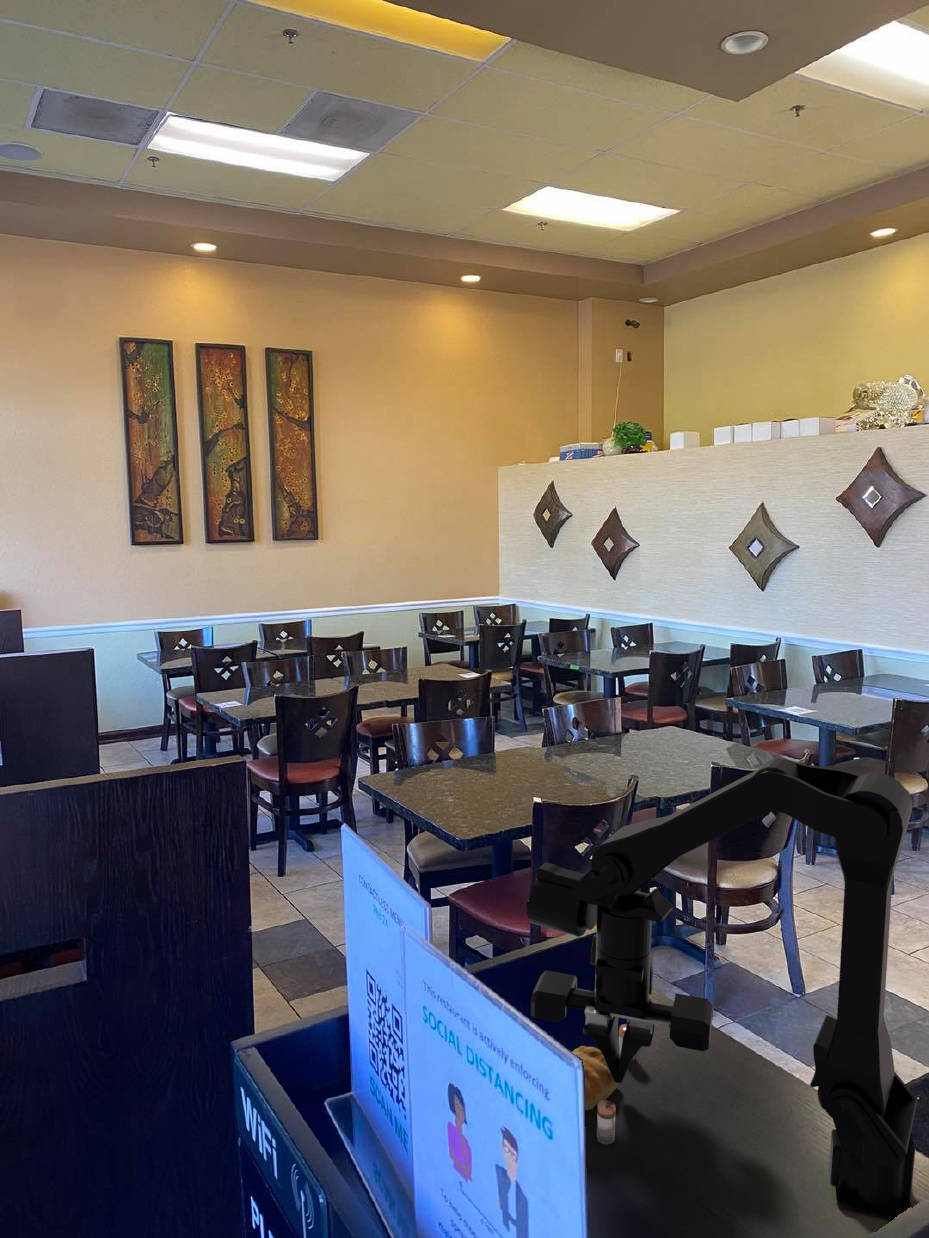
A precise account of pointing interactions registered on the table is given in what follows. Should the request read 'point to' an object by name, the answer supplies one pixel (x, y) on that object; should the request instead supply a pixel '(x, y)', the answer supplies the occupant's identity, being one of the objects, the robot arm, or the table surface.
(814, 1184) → the table surface
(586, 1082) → the pastry
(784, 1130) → the table surface
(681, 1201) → the table surface
